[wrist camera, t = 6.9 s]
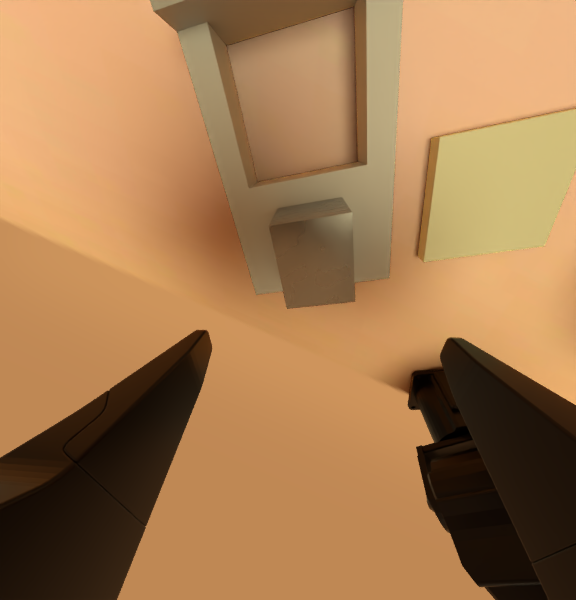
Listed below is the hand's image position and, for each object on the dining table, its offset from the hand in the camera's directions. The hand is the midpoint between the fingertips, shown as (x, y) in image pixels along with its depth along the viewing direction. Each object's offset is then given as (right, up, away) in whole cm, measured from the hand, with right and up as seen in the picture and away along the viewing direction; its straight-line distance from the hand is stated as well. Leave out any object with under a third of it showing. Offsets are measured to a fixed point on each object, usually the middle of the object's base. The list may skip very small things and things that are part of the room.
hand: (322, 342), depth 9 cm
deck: (0, +10, +7) cm, 13 cm away
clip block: (0, +6, +7) cm, 9 cm away
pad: (+12, +9, +7) cm, 17 cm away
